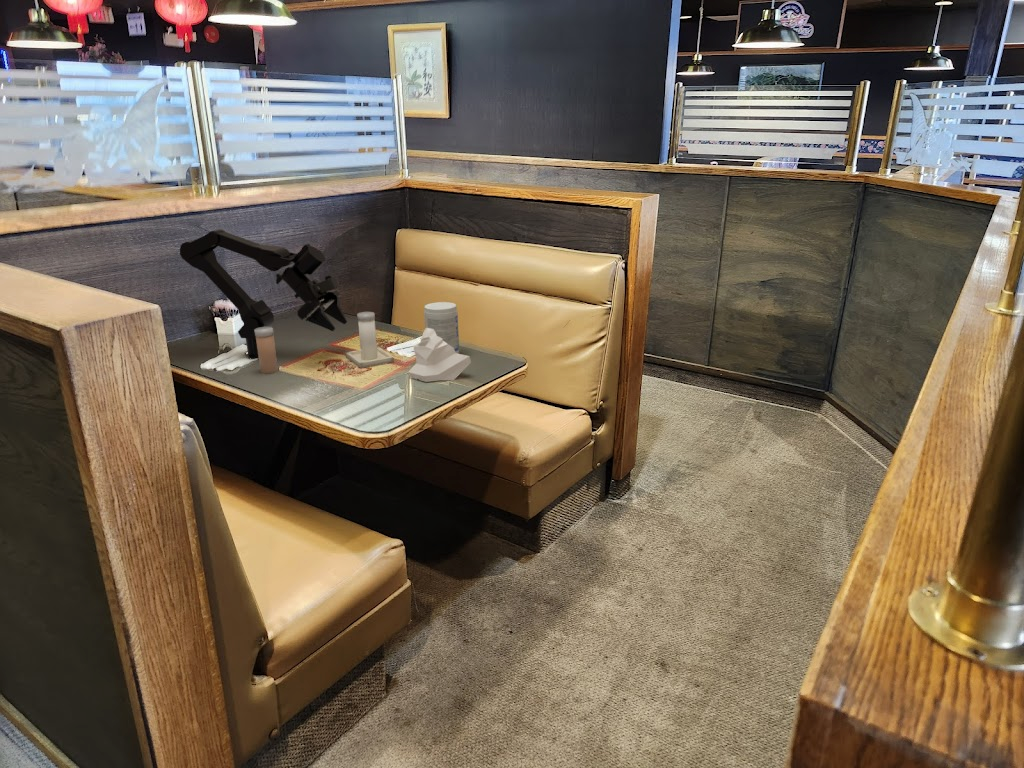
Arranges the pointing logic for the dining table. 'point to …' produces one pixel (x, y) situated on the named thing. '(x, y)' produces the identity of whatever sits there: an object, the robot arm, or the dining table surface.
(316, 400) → the dining table surface
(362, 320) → the salt shaker
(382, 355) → the tray
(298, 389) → the dining table surface
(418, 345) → the white faceted sculpture
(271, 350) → the pepper shaker
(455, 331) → the supplement tub
